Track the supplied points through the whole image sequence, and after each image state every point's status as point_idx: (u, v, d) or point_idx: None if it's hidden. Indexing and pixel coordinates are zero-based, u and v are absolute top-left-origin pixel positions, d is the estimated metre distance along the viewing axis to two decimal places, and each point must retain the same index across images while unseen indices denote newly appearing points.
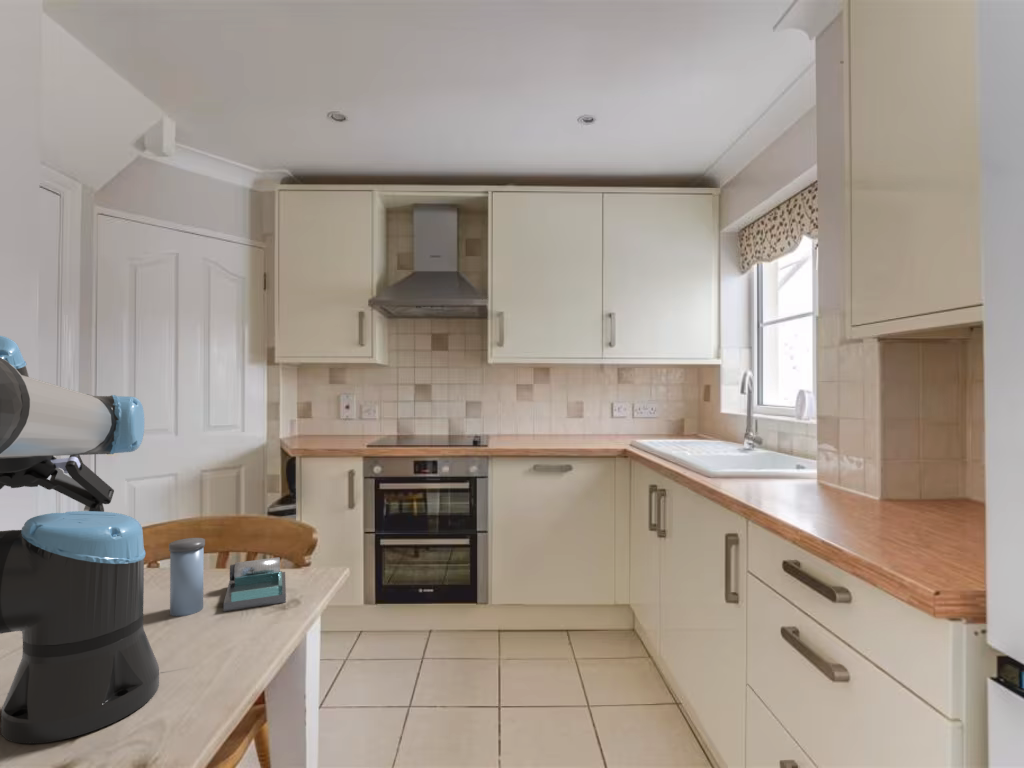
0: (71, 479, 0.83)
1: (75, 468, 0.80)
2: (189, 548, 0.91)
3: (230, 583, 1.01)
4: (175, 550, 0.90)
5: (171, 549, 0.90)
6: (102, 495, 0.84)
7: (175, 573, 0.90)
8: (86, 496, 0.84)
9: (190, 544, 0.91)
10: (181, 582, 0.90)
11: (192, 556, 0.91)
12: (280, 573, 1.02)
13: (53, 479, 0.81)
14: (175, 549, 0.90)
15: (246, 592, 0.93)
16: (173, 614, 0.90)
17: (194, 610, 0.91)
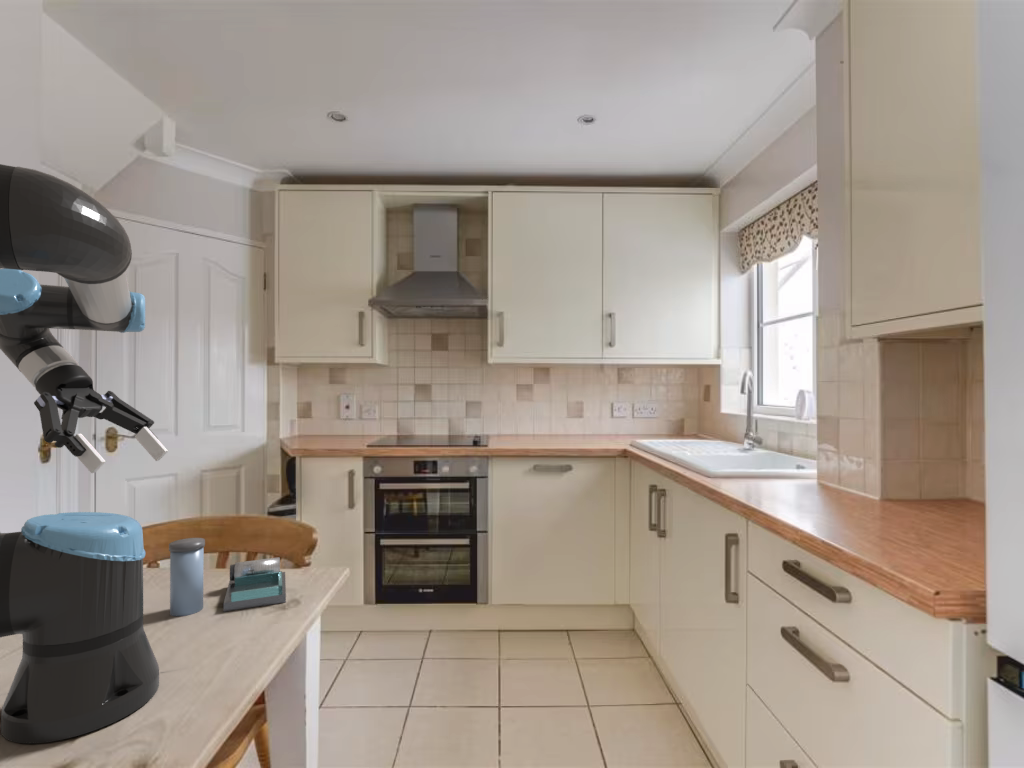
0: None
1: (114, 394, 1.02)
2: (189, 548, 0.91)
3: (230, 583, 1.01)
4: (175, 550, 0.90)
5: (171, 549, 0.90)
6: (145, 416, 1.04)
7: (175, 573, 0.90)
8: None
9: (190, 544, 0.91)
10: (180, 582, 0.90)
11: (192, 556, 0.91)
12: (280, 573, 1.02)
13: (106, 407, 0.98)
14: (175, 549, 0.90)
15: (246, 592, 0.93)
16: (173, 614, 0.90)
17: (194, 610, 0.91)
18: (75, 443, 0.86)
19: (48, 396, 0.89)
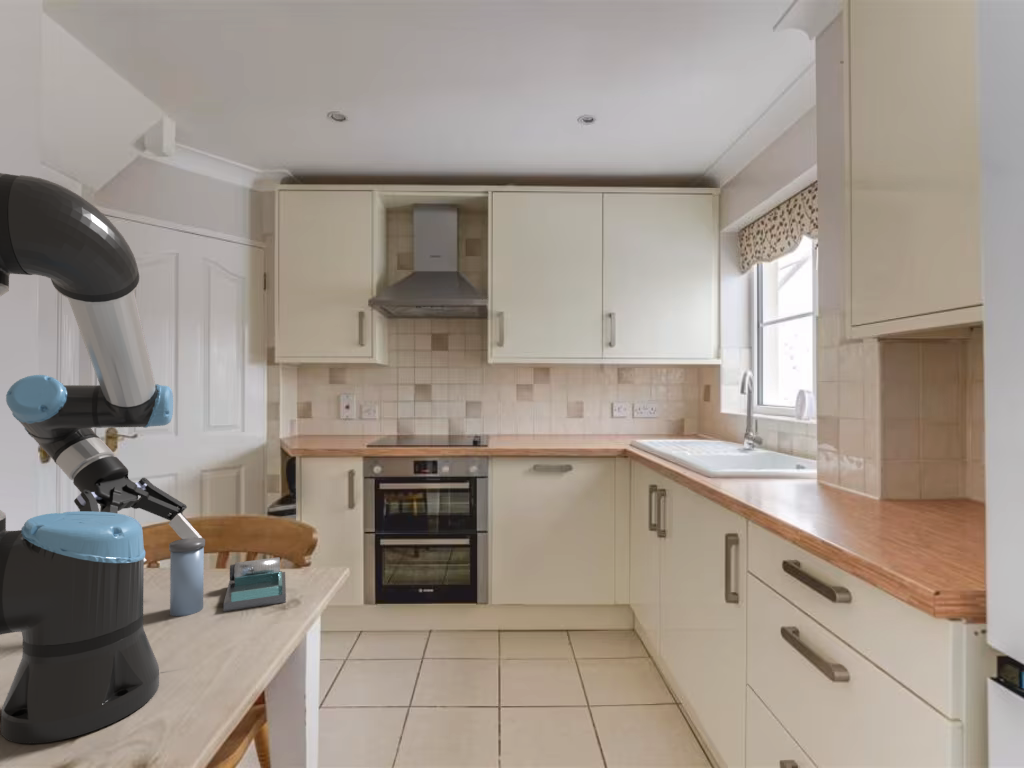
0: None
1: (148, 481, 1.02)
2: (189, 548, 0.91)
3: (230, 583, 1.01)
4: (175, 550, 0.90)
5: (171, 549, 0.90)
6: None
7: (176, 573, 0.90)
8: None
9: (190, 544, 0.91)
10: (181, 582, 0.90)
11: (192, 556, 0.91)
12: (280, 573, 1.02)
13: (141, 496, 0.99)
14: (175, 549, 0.90)
15: (246, 592, 0.93)
16: (173, 614, 0.90)
17: (194, 610, 0.91)
18: None
19: (88, 494, 0.89)
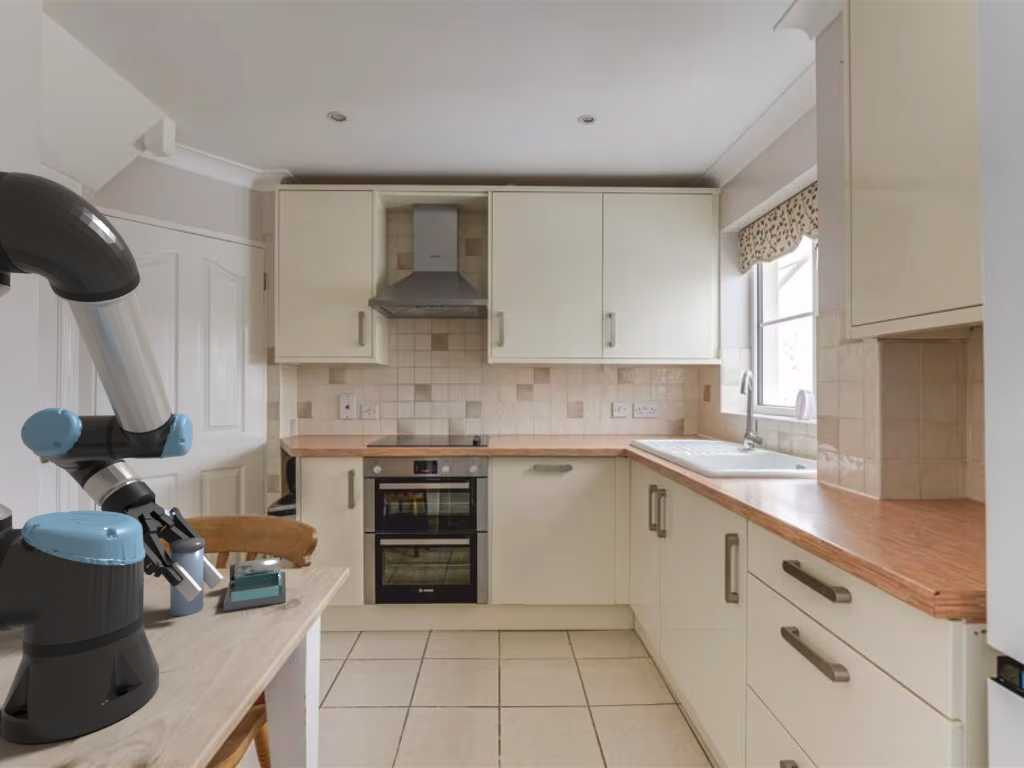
0: None
1: (179, 511, 1.00)
2: (189, 548, 0.91)
3: (230, 583, 1.01)
4: (175, 550, 0.90)
5: (171, 549, 0.90)
6: (200, 537, 0.99)
7: None
8: None
9: (190, 544, 0.91)
10: None
11: (192, 556, 0.91)
12: (280, 573, 1.02)
13: None
14: (175, 549, 0.90)
15: (246, 592, 0.93)
16: (173, 614, 0.90)
17: (194, 610, 0.91)
18: (173, 573, 0.89)
19: None
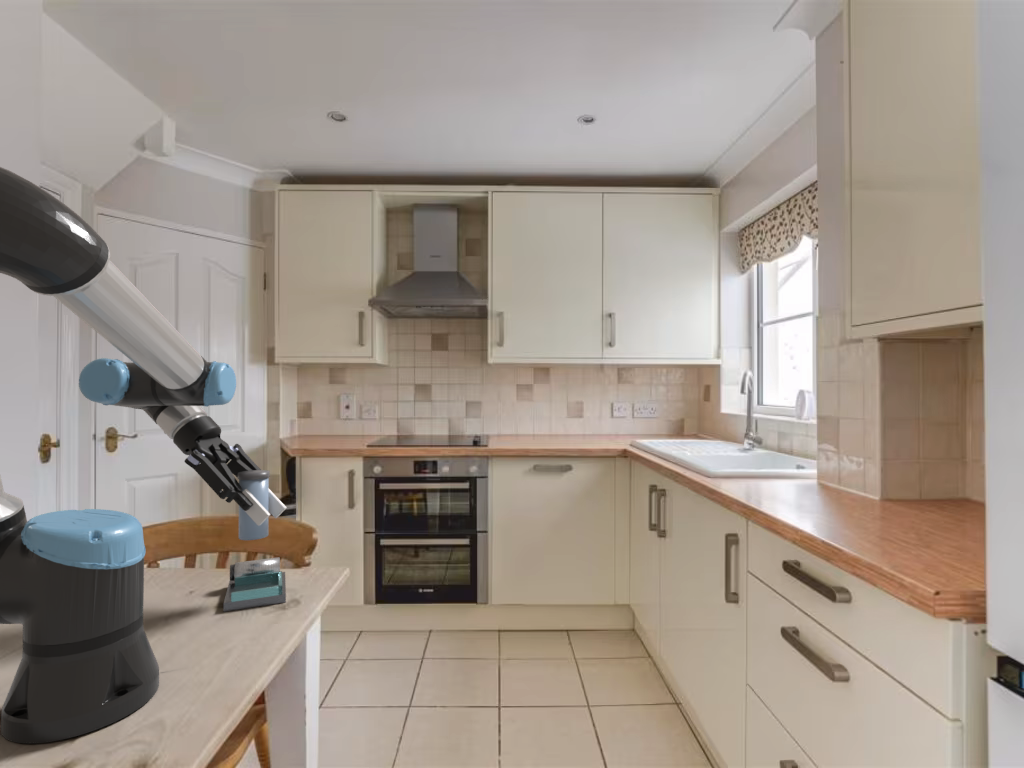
0: None
1: (241, 447, 1.05)
2: (257, 476, 0.96)
3: (230, 583, 1.01)
4: (244, 478, 0.96)
5: (240, 477, 0.96)
6: None
7: None
8: None
9: (258, 473, 0.97)
10: None
11: (260, 484, 0.97)
12: (280, 573, 1.02)
13: None
14: (244, 477, 0.96)
15: (246, 592, 0.93)
16: (242, 538, 0.96)
17: (262, 535, 0.97)
18: (244, 498, 0.94)
19: (199, 454, 0.93)
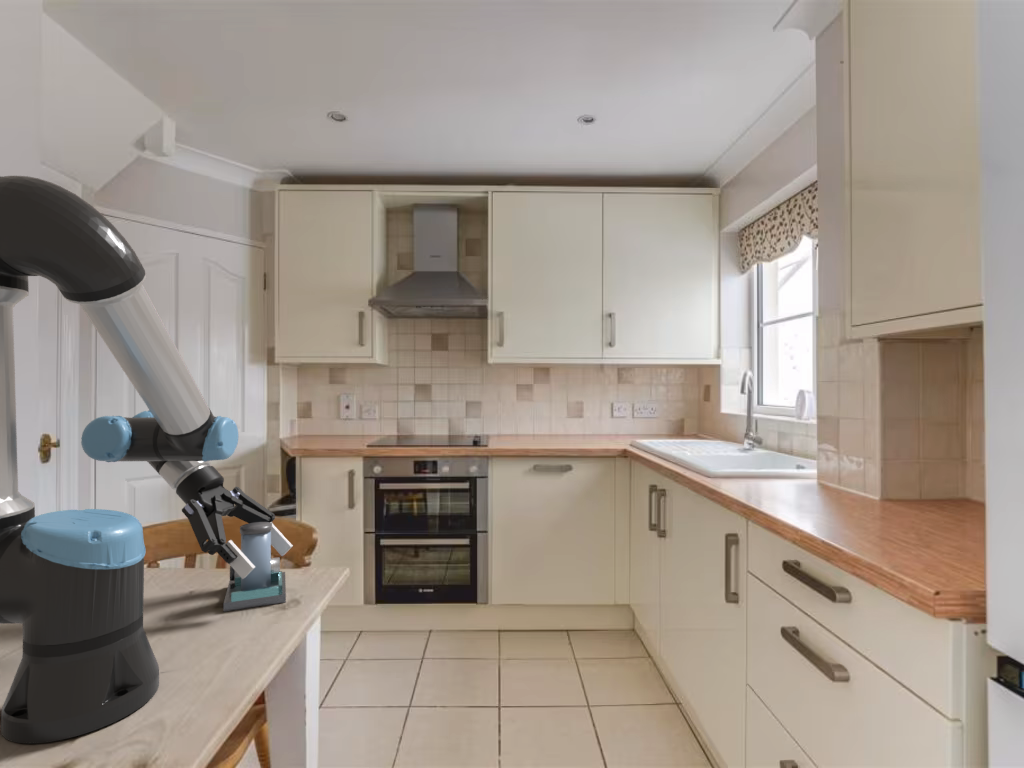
0: None
1: (240, 490, 1.06)
2: (259, 531, 0.96)
3: (230, 583, 1.01)
4: (247, 532, 0.95)
5: (243, 532, 0.96)
6: (267, 509, 1.07)
7: (247, 554, 0.96)
8: None
9: (260, 527, 0.97)
10: (252, 563, 0.96)
11: (262, 538, 0.97)
12: (280, 573, 1.02)
13: (236, 505, 1.02)
14: (247, 532, 0.95)
15: (246, 592, 0.93)
16: None
17: None
18: (228, 551, 0.91)
19: (195, 503, 0.93)
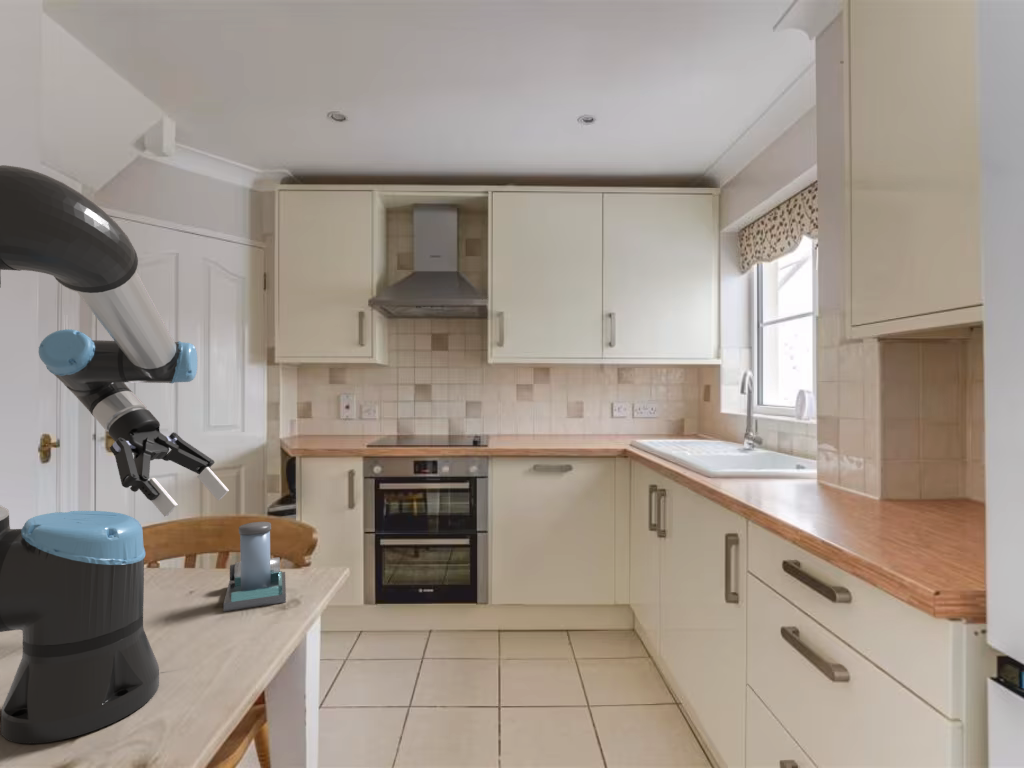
0: None
1: (178, 435, 1.06)
2: (259, 531, 0.96)
3: (230, 583, 1.01)
4: (246, 533, 0.95)
5: (242, 532, 0.96)
6: (206, 456, 1.08)
7: (246, 555, 0.95)
8: None
9: (259, 527, 0.96)
10: (251, 563, 0.95)
11: (261, 538, 0.96)
12: (280, 573, 1.02)
13: (172, 449, 1.03)
14: (246, 532, 0.95)
15: (246, 592, 0.93)
16: None
17: None
18: (150, 487, 0.90)
19: (123, 442, 0.93)
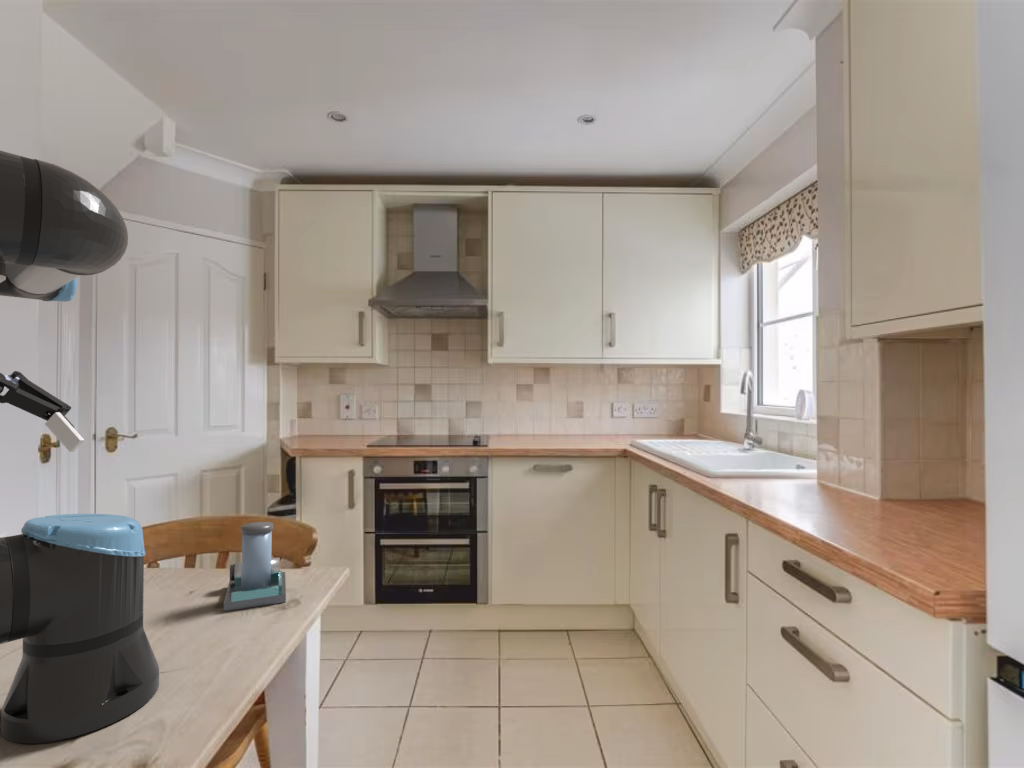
0: None
1: (22, 375, 0.88)
2: (261, 530, 0.96)
3: (230, 583, 1.01)
4: (248, 532, 0.96)
5: (244, 531, 0.96)
6: (60, 400, 0.90)
7: (248, 554, 0.96)
8: None
9: (261, 527, 0.97)
10: (253, 562, 0.96)
11: (263, 538, 0.97)
12: (280, 573, 1.02)
13: (9, 389, 0.84)
14: (248, 531, 0.96)
15: (246, 592, 0.93)
16: None
17: None
18: None
19: None
